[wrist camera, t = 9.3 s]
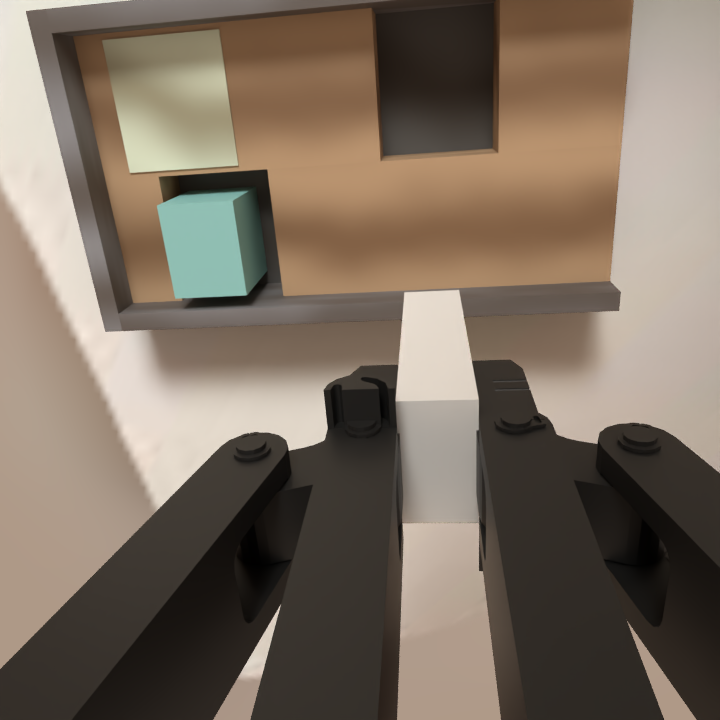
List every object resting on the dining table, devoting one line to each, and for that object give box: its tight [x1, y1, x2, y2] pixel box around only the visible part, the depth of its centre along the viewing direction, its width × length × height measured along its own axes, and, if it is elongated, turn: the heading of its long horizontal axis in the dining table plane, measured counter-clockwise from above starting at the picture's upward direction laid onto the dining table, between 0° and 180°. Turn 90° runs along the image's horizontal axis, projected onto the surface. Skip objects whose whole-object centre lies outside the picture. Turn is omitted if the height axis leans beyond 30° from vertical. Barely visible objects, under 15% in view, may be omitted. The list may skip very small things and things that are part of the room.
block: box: [157, 187, 267, 299], centre depth 35 cm, size 5×5×4 cm
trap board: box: [26, 0, 633, 332], centre depth 33 cm, size 16×28×5 cm, turn 94°
